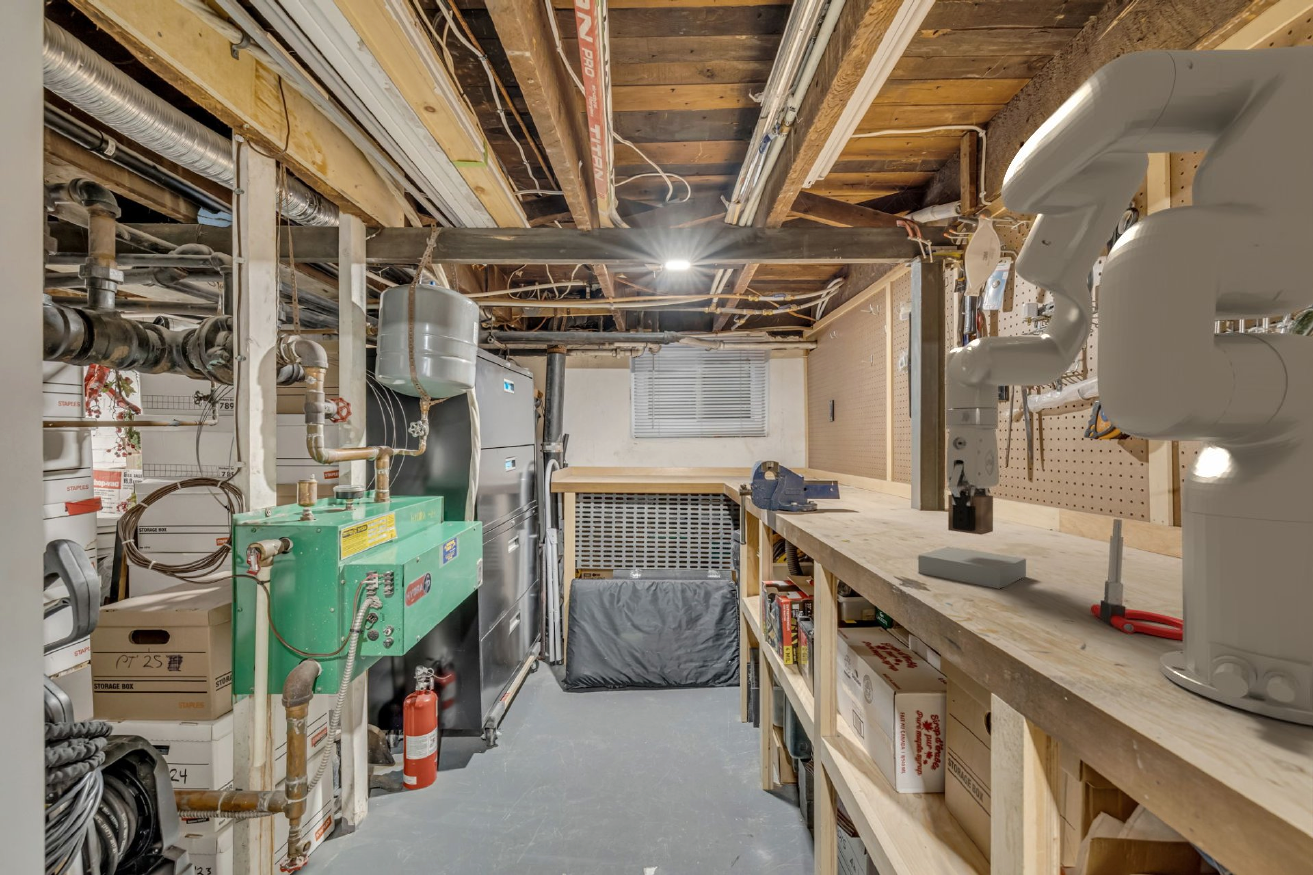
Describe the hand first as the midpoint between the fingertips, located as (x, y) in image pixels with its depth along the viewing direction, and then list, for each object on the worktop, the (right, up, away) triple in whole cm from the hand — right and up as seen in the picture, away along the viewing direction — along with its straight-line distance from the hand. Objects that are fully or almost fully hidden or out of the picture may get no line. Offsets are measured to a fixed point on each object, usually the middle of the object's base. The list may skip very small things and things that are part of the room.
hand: (970, 526), depth 86 cm
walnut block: (0, -1, 0) cm, 1 cm away
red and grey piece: (+6, -8, -25) cm, 27 cm away
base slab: (0, -8, 0) cm, 8 cm away
